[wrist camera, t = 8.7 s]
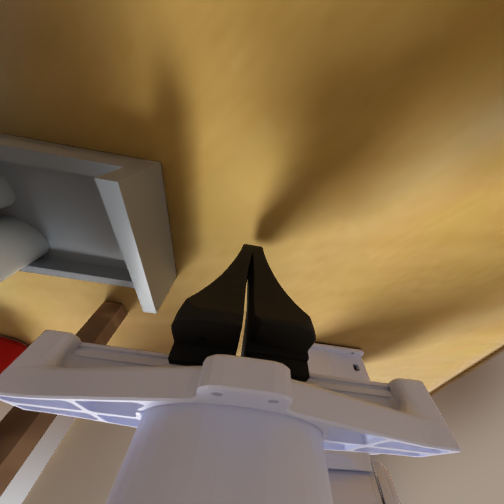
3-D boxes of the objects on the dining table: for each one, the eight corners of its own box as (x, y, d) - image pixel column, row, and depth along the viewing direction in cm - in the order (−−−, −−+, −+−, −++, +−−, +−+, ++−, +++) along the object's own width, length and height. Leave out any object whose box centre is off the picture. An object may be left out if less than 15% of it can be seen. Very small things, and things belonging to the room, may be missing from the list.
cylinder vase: (119, 386, 40) (-26, 656, 20) (93, 363, 32) (-182, 759, 12) (175, 392, 40) (85, 668, 20) (163, 370, 32) (-3, 780, 12)
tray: (160, 162, 11) (97, 191, 7) (176, 276, 17) (148, 328, 13) (-122, 111, 10) (-379, 109, 6) (0, 249, 16) (-90, 294, 12)
